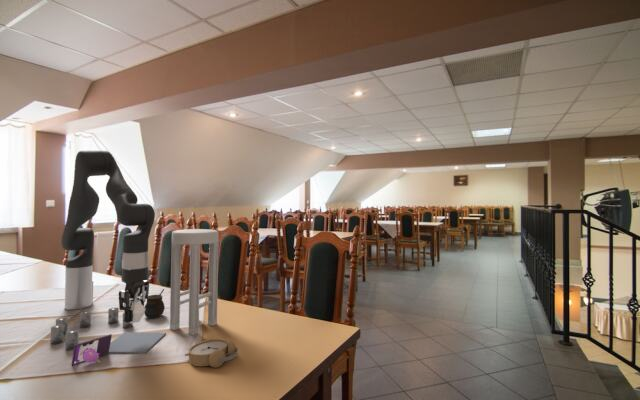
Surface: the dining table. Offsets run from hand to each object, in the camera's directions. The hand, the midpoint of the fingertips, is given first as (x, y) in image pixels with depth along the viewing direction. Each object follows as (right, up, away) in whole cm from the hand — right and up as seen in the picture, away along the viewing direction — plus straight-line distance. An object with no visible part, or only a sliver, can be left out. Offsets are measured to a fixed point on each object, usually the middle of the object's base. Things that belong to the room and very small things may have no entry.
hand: (134, 317), depth 103 cm
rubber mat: (0, -8, 0) cm, 8 cm away
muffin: (0, -1, 0) cm, 1 cm away
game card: (-5, -8, -12) cm, 15 cm away
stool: (+13, -9, +14) cm, 22 cm away
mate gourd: (-6, -8, +24) cm, 26 cm away
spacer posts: (-19, -8, +6) cm, 22 cm away
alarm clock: (+29, -9, -9) cm, 31 cm away
